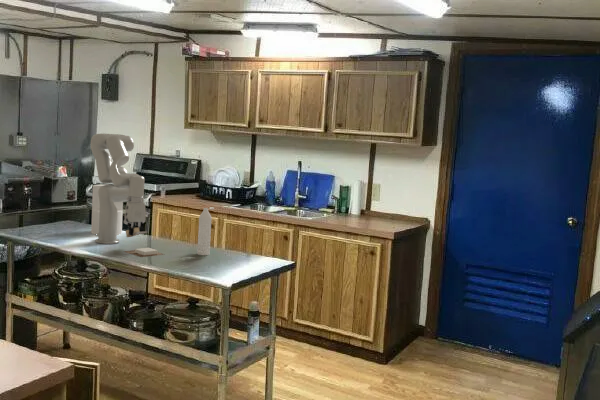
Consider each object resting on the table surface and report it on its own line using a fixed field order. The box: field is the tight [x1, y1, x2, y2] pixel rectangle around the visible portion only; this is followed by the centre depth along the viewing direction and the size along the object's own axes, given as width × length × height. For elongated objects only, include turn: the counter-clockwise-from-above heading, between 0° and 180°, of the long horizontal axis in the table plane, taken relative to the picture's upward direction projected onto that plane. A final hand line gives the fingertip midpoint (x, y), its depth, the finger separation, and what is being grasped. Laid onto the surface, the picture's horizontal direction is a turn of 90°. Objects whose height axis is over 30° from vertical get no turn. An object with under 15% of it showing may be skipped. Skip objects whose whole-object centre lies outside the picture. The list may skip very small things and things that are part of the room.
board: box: [123, 249, 165, 258], centre depth 320 cm, size 16×14×2 cm
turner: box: [125, 227, 148, 238], centre depth 324 cm, size 13×6×4 cm, turn 48°
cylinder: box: [90, 183, 124, 236], centre depth 372 cm, size 17×17×28 cm
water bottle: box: [196, 206, 215, 256], centre depth 331 cm, size 9×6×25 cm
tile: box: [134, 247, 159, 256], centre depth 318 cm, size 2×8×8 cm
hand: (133, 234), depth 325 cm, fingers closed on turner, 2 cm apart
